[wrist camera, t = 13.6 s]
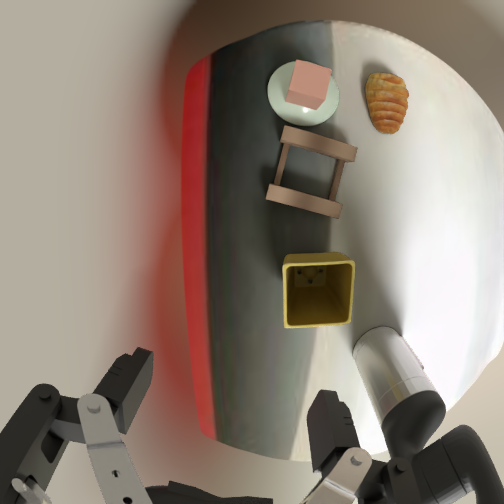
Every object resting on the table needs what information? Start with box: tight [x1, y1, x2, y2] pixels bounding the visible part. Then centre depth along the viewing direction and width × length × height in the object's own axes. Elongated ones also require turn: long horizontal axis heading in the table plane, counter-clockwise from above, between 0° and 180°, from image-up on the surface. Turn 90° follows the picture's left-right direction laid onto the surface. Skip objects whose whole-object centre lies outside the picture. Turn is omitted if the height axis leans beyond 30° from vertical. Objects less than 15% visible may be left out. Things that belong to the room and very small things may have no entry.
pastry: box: [365, 73, 409, 134], centre depth 33 cm, size 9×7×4 cm
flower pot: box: [282, 252, 355, 328], centre depth 38 cm, size 9×9×9 cm
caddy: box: [266, 125, 357, 219], centre depth 36 cm, size 10×10×3 cm
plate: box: [268, 61, 339, 126], centre depth 34 cm, size 10×10×1 cm
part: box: [285, 59, 332, 110], centre depth 31 cm, size 4×4×6 cm
